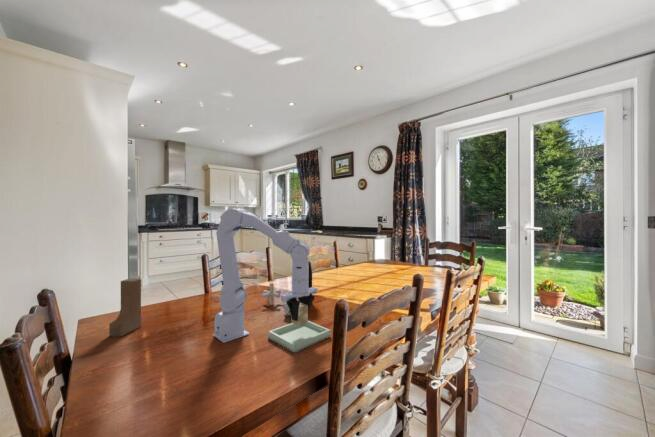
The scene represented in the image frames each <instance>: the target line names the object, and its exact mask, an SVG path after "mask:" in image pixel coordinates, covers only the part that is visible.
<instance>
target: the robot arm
mask: <svg viewBox="0 0 655 437" xmlns="http://www.w3.org/2000/svg"><path fill="white" fill-rule="evenodd" d="M219 218H220V221H219V224H218V227H217V230H216V241H217V248H218V256H219V263H220V268H221V270H220V271H221V276H222V286H221V289H220V297H219V302H218V304H219V308H220V309H221V311H220V312H217V313H216V314H215V316H214V327H213V328H214V329H213V330H214V331H213V332H214V333H213V337H215V338H217V340H219V341H220V342H221V343H223V344H224V343H227V342H231V341H234V340H236V339H240V338H242V337H245V336H248V335H250V332H249V331H247V330H245V305H244V304H245V302H246V301H247V298H248V293H247V291H246V290H245V288H244V283H243V282H242V281H241V280H240V274H239V269H238V266H239V265H238V262H237V253H236V248H235V247H236V246H235V239H234V236H235V235H236V234H237V232H239V230H241V229H243V228H244V227H248V228H253V229H255V230H256V231H258V232H260V233H261V234H263V235H265V236H266V237H269V238H270V239H271V241H272V244H273V245H274V246H276V247H277V248H279V249H280V250H281V251H283V252H284V253H286V254H287V255H289V256H290V258H291V259H292V265H291V290H290V291H288V292H286V293H283V294H280V297H281V298H280V301H281V302H283V303H285V302H286V303H287V305H288V307H289V309H290V312H291V315H290V317H291V316H292V320H295V321H297V320H298V309H299V305H300V301H297V299H296V298H299V297H300V298H301V303H303V304H306V305H308V314H309V312H310V309H311V307H312V305H313V302H314V300H315V296H314V295H313V294H315V295H316V294H318V287H316V286H315V287H314V286H312V288H309V265H308V262H309V255H310V252H311V250H310V246H308V244H307V243H306V242H301V240H300V239H299V238H298V239H297V238H295V237H294V236H292V235H291V234H290V231H288V230H284V229H283V230H276V229H275V228H273V227H272V226H271V225H269V224H268V223H267V222H266V221H264V220H263V219H261V218H260V217H258V216H257V215H256V214H254V213H253V212H250V211H249V212H248V210H247V209H245V208H234V207H232V208H228V209H226V210H225V211H224V212H223V213H222V214H221V215H220V216H219Z"/></svg>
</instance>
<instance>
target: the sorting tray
mask: <svg viewBox="0 0 655 437" xmlns="http://www.w3.org/2000/svg"><path fill="white" fill-rule="evenodd" d="M331 331H332V330H331V329H330V328H327V327H325V326H322V325H319V324H318V323H316V322H312V321H310V320H308V323H305V324H302V325H299V326H298V325H296V324H293V323H291V322H290V323H288V324H285V325H282V326H278V327H277V328H274V329H272V330H269V331H268V334H267V335H268V340H269V341H271V342H273V341H274V343H275V342H276V344H277V343H278V344H277V345H279V346H280V345H281V347H282V346H283V348H284V347H285V348H284V349H286V348H287V349H286V350H288V349H289V350H290V351H289V350H288V351H289V352H291V351H292V352H291V353H293V352H294V353H293V354H296V353H298V352H301V351H303V350H304V348H305V349H307V348H309V346H310V347H311V345H312V346H313V344H314V345H316V344H318V343H317V342H319V341H321V342H322V340H323V339H325V338H327V337H329V336H330V338H331V337H332V336H331V335H332V334H331ZM327 339H328V338H327ZM325 340H326V339H325ZM323 341H324V340H323ZM315 343H316V344H315ZM319 343H320V342H319ZM306 347H307V348H306ZM302 349H303V350H302ZM300 350H301V351H300ZM297 351H298V352H297ZM295 352H296V353H295Z"/></svg>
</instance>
